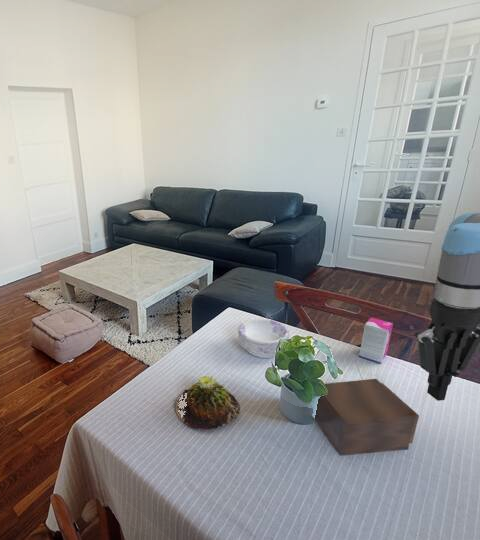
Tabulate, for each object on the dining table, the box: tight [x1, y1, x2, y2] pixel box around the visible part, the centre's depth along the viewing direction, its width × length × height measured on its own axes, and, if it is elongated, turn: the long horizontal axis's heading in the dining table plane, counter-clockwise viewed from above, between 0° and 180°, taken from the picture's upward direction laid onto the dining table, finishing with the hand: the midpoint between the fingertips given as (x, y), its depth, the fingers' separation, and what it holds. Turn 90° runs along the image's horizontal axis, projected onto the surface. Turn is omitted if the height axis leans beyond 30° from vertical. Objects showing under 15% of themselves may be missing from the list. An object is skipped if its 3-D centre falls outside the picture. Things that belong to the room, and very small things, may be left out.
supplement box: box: [358, 317, 394, 365], centre depth 100 cm, size 6×6×12 cm
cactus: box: [174, 375, 241, 430], centre depth 89 cm, size 17×16×10 cm
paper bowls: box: [238, 318, 290, 359], centre depth 110 cm, size 15×15×8 cm
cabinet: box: [314, 378, 416, 456], centre depth 77 cm, size 15×12×10 cm
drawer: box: [380, 382, 420, 445], centre depth 77 cm, size 15×10×8 cm
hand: (435, 396), depth 75 cm, fingers closed
